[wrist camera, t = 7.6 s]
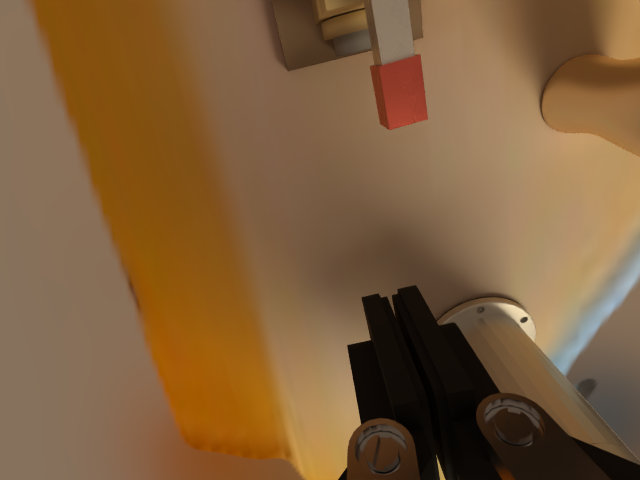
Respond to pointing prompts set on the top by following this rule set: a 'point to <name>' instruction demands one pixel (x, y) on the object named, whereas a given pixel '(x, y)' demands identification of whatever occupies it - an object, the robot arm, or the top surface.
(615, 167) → the top surface
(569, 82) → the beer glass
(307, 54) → the valve
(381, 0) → the valve lever
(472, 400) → the robot arm
